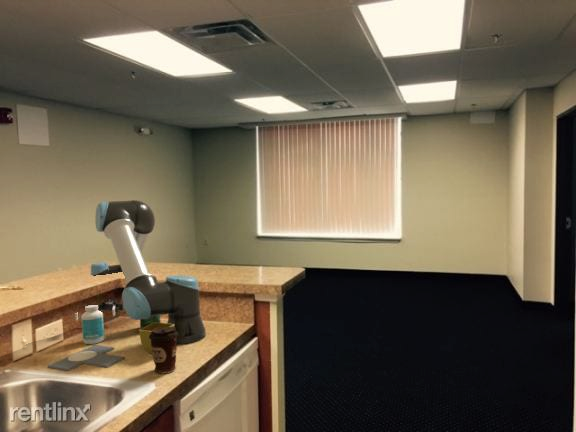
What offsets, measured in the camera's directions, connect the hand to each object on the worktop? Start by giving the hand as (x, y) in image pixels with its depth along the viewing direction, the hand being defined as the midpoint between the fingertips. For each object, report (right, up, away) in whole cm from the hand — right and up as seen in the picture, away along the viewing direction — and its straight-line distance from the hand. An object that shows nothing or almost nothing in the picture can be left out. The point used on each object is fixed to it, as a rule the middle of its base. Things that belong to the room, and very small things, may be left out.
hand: (95, 315), depth 182 cm
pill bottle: (+3, -8, -9) cm, 12 cm away
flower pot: (+31, -8, -22) cm, 39 cm away
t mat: (+11, -9, -27) cm, 30 cm away
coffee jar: (+21, -7, +5) cm, 22 cm away
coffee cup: (+38, -9, -38) cm, 54 cm away
